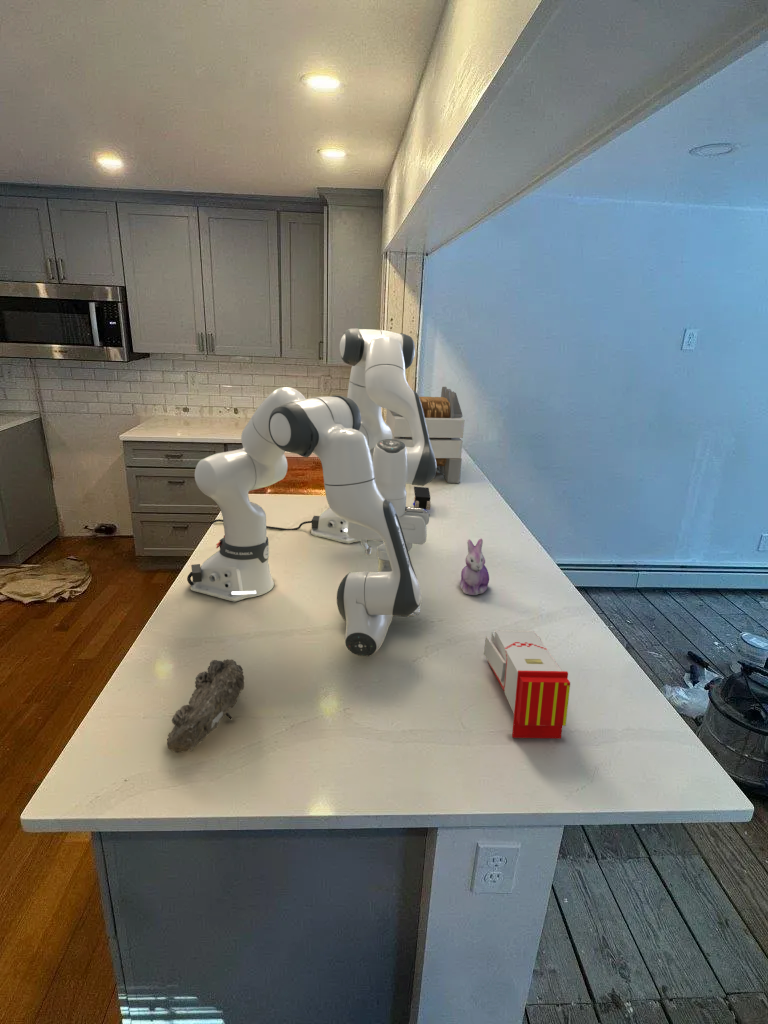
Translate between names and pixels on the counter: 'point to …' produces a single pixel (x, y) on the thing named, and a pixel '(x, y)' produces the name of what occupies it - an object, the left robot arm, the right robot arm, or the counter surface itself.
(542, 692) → the toy
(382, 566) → the jar
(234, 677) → the fossil
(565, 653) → the counter surface
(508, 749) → the counter surface
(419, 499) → the figurine character
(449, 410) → the transformer
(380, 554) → the lid
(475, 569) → the figurine
